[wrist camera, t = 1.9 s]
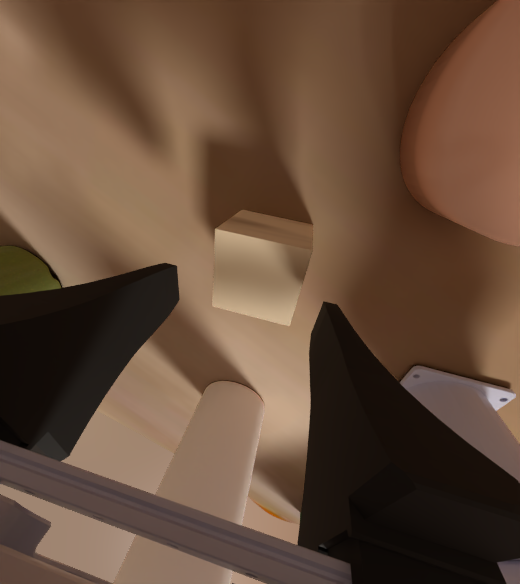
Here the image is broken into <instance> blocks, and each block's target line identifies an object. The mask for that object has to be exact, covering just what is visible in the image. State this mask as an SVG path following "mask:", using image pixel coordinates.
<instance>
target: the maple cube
mask: <svg viewBox="0 0 520 584" xmlns="http://www.w3.org/2000/svg"><path fill="white" fill-rule="evenodd" d="M312 251H313V224H308V223H303V222H299V221H294V220H289V219H284V218H280V217H275V216H270V215H266V214H261V213H256V212H251V211H247V210H241V211H239V212H238V213H237V214H235V215H234V216H232V217H231V218H230V219H228V220H227V221H225V222H224V223H222V224H221V225H220V226H218V227H217V228H215V246H214V274H213V301H212V306H213V307H217V308H221V309H225V310H229V311H232V312H236V313H240V314H244V315H248V316H252V317H256V318H259V319H263V320H267V321H271V322H275V323H279V324H282V325H286V326H290V323H291V320H292V317H293V313H294V310H295V307H296V303H297V300H298V297H299V294H300V290H301V287H302V284H303V281H304V277H305V274H306V271H307V268H308V264H309V261H310V258H311V254H312Z"/></svg>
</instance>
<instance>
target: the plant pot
mask: <svg viewBox="0 0 520 584" xmlns="http://www.w3.org/2000/svg"><path fill="white" fill-rule="evenodd" d="M59 288H61V286H60V283H59V282H58V280H56V279H54V278H53V277H52V276H51V274H50V272H49V269H48V267H47V266H46V265H45V264H44V263H43V262H42V261H41V260H40V259H38V258H37V257H35V256H34V255H33V254H31V253H29V252H28V251H26V250H24V249H22V248H19V247H16V246H0V296H2V295H12V294H22V293H30V292H37V291H45V290H52V289H59Z"/></svg>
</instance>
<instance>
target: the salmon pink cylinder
mask: <svg viewBox="0 0 520 584" xmlns="http://www.w3.org/2000/svg"><path fill="white" fill-rule="evenodd" d="M400 166H401V173H402V176H403V179H404V182H405V184H406V186H407V188H408V190H409V192H410V193H411V195H412V196H413V197H414V199H415V200H416V201H417V202H418V203H420V204H421V205H422V206H423V207H425V208H426V209H428V210H429V211H431V212H434V213H436V214H438V215H440V216H442V217H444V218H447V219H449V220H451V221H453V222H455V223H457V224H460V225H462V226H464V227H466V228H468V229H471V230H473V231H475V232H477V233H479V234H481V235H484V236H486V237H488V238H490V239H493V240H495V241H498V242H501V243H505V244H509V245H513V246H520V0H497V1H496V2H495V3H494V4H492V5H491V6H490V7H489V8H488V9H487V10H485V11H484V12H483V13H482V14H481V15H480V16H478V17H477V18H476V19H475V20H474V21H473V22H472V23H470V24H469V25H468V26H467V27H466V28H465V29H464V30H463V31H462V32H461V33H460V34H459V35H458V36H457V37H456V38H455V39H454V40H453V41H452V43H451V44H450V45H449V46H448V47H447V49H446V50H445V51H444V52H443V53H442V55H441V56H440V57H439V58H438V60H437V61H436V63H435V64H434V65H433V67H432V68H431V70H430V71H429V73H428V74H427V76H426V77H425V79H424V81H423V82H422V84H421V86H420V88H419V89H418V91H417V93H416V95H415V98H414V100H413V102H412V104H411V106H410V109H409V112H408V114H407V117H406V120H405V123H404V128H403V132H402V136H401V144H400Z"/></svg>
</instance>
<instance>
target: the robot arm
mask: <svg viewBox="0 0 520 584" xmlns="http://www.w3.org/2000/svg"><path fill="white" fill-rule="evenodd" d="M178 301H179V288H178V274H177V266H176V265H172V264H167V263H163V264H158V265H154V266H150V267H146V268H143V269H139V270H136V271H132V272H129V273H125V274H122V275H118V276H114V277H110V278H106V279H102V280H98V281H94V282H90V283H85V284H81V285H75V286H70V287H65V288H59V289H52V290H45V291H37V292H30V293H22V294H12V295H2V296H0V484H3V485H6V486H8V487H11V488H14V489H16V490H19V491H22V492H24V493H27V494H30V495H32V496H35V497H37V498H40V499H43V500H46V501H48V502H51V503H54V504H56V505H59V506H61V507H64V508H67V509H69V510H72V511H75V512H77V513H80V514H83V515H85V516H88V517H91V518H93V519H96V520H99V521H101V522H104V523H107V524H109V525H112V526H115V527H117V528H120V529H123V530H126V531H128V532H131V533H133V534H136V535H139V536H141V537H144V538H147V539H149V540H152V541H155V542H157V543H160V544H163V545H165V546H168V547H171V548H173V549H176V550H179V551H181V552H184V553H187V554H189V555H192V556H195V557H197V558H200V559H203V560H205V561H208V562H211V563H213V564H216V565H219V566H221V567H224V568H227V569H229V570H232V571H234V572H237V573H240V574H243V575H245V576H248V577H250V578H253V579H256V580H258V581H261V582H264V583H267V584H520V444H519V443H518V441H517V440H516V438H515V437H514V436H513V434H512V433H511V431H510V430H509V429H508V427H507V426H506V424H505V423H504V422H503V420H502V419H501V417H500V416H499V415H498V413H497V412H496V411H497V410H498V409H499V408H501V407H502V406H504V405H505V404H507V403H508V402H510V401H511V400H512V399H514V398H515V397H516V394H515V393H514V392H513V391H512V390H511V389H507V388H503V387H500V386H496V385H492V384H488V383H484V382H480V381H477V380H473V379H469V378H465V377H461V376H458V375H454V374H450V373H446V372H442V371H439V370H435V369H431V368H427V367H423V366H414V367H413V368H412V369H411V370H410V371H409V372H408V373H407V374H406V376H405V377H404V378H403V379H402V380H401V382H400V383H399V382H398V381H397V380H396V379H395V378H394V377H393V376H392V375H391V374H390V373H389V371H388V370H387V369H386V368H385V367H384V366H383V365H382V364H381V363H380V362H379V361H378V359H377V358H376V357H375V356H374V355H373V353H372V352H371V351H370V350H369V349H368V347H367V346H366V345H365V344H364V342H363V341H362V340H361V338H360V337H359V336H358V334H357V333H356V331H355V330H354V329H353V327H352V326H351V324H350V323H349V321H348V320H347V318H346V317H345V315H344V314H343V312H342V311H341V309H340V308H339V307H338V305H337V304H332V303H328V302H323V304H322V307H321V310H320V312H319V315H318V317H317V320H316V322H315V325H314V328H313V330H312V333H311V340H310V350H309V362H310V392H311V410H310V425H309V439H308V451H307V462H306V473H305V483H304V493H303V502H302V511H301V520H300V528H299V536H298V545H295V544H292V543H290V542H287V541H284V540H281V539H278V538H275V537H273V536H270V535H267V534H264V533H261V532H258V531H255V530H253V529H250V528H247V527H244V526H242V525H239V524H236V523H233V522H230V521H227V520H225V519H222V518H219V517H216V516H213V515H210V514H208V513H205V512H202V511H199V510H196V509H193V508H191V507H188V506H185V505H182V504H179V503H176V502H174V501H171V500H168V499H165V498H162V497H160V496H157V495H154V494H151V493H148V492H145V491H142V490H140V489H137V488H134V487H131V486H128V485H126V484H122V483H120V482H117V481H114V480H111V479H109V478H105V477H102V476H100V475H97V474H94V473H92V472H89V471H86V470H83V469H80V468H77V467H75V466H72V465H69V464H66V463H63V462H60V461H62V460H64V459H65V458H67V457H68V456H69V455H70V453H71V451H72V450H73V448H74V446H75V444H76V442H77V441H78V439H79V437H80V436H81V434H82V432H83V430H84V429H85V427H86V426H87V424H88V422H89V421H90V419H91V417H92V416H93V414H94V413H95V411H96V409H97V408H98V406H99V405H100V403H101V402H102V400H103V398H104V397H105V395H106V394H107V392H108V391H109V389H110V388H111V386H112V385H113V383H114V382H115V381H116V379H117V378H118V376H119V375H120V373H121V372H122V371H123V369H124V368H125V366H126V365H127V364H128V362H129V361H130V360H131V358H132V357H133V356H134V354H135V353H136V352H137V351H138V350H139V348H140V347H141V346H142V345H143V344H144V343H145V342H146V341H147V340H148V338H149V337H150V336H151V335H152V334H153V333H154V332H155V331H156V330H157V328H158V327H159V326H160V325H161V324H162V323H163V322H164V321H165V319H166V318H167V317H168V316H169V315H170V313H171V312H172V310H173V309H174V307H175V306H176V304H177V303H178ZM50 527H51V522H49V521H48V520H46V519H44V518H42V517H40V516H38V515H36V514H34V513H33V512H31V511H29V510H27V509H26V508H24V507H22V506H21V505H20V504H18V503H17V502H16V501H14V500H12V499H9V498H7V497H5V496H3V495H1V494H0V584H113V583H110V582H108V581H105V580H102V579H100V578H98V577H95V576H93V575H90V574H88V573H85V572H83V571H80V570H78V569H75V568H73V567H70V566H68V565H65V564H62V563H60V562H58V561H55V560H52V559H50V558H47V557H45V556H42V555H40V554H37V553H35V549H36V547H37V545H38V544H39V542H40V541H41V539H42V538H43V536H44V535H45V534H46V533H47V531H48V530H49V528H50ZM232 584H234V583H232Z"/></svg>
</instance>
